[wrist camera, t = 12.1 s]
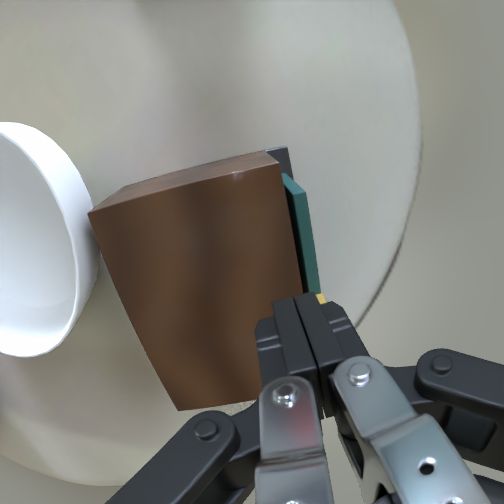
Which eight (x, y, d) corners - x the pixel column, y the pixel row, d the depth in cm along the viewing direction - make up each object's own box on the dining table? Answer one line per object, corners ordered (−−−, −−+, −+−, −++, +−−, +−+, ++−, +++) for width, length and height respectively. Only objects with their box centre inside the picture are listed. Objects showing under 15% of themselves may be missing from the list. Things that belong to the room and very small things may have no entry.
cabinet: (285, 145, 25) (309, 156, 18) (315, 326, 32) (337, 380, 25) (123, 186, 25) (86, 213, 18) (185, 353, 32) (178, 411, 25)
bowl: (152, 167, 25) (119, 188, 17) (87, 337, 31) (60, 391, 23) (-10, 93, 20) (-68, 96, 12) (-41, 258, 26) (-83, 291, 18)
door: (286, 172, 25) (322, 204, 16) (304, 272, 29) (338, 344, 19) (274, 174, 25) (302, 208, 16) (293, 274, 29) (322, 348, 19)
